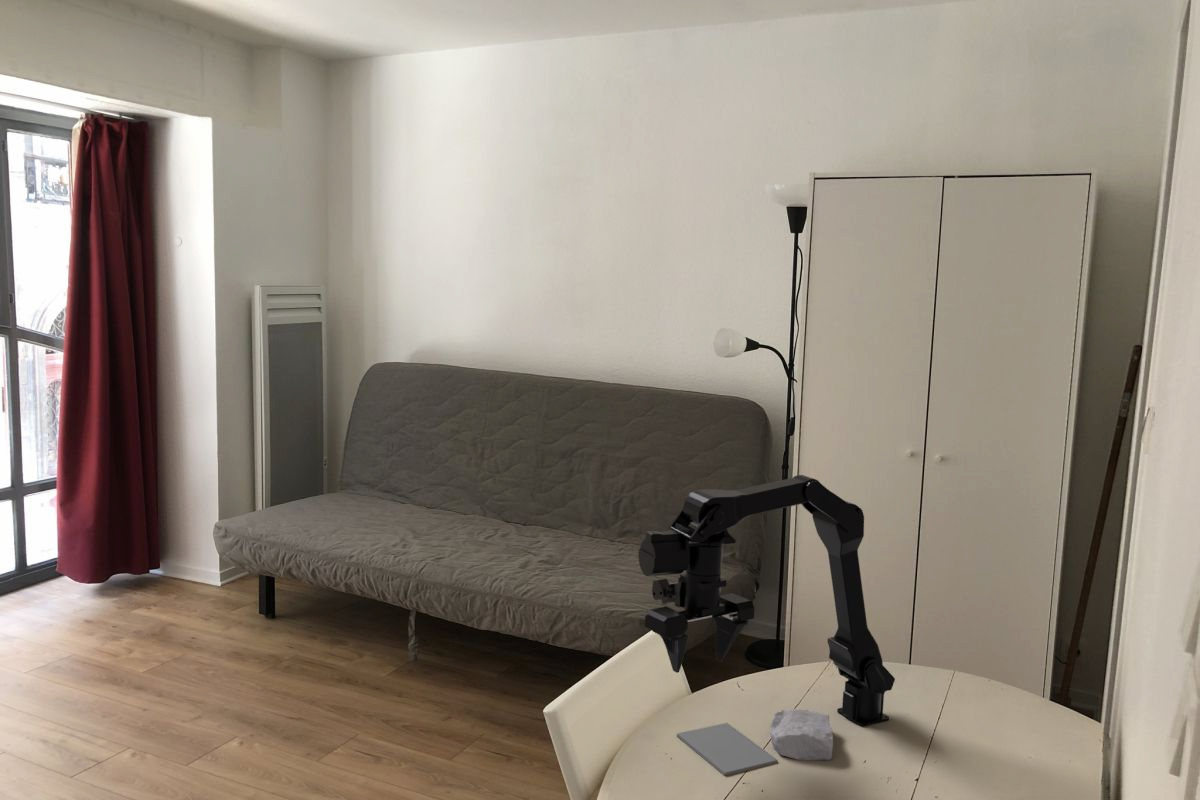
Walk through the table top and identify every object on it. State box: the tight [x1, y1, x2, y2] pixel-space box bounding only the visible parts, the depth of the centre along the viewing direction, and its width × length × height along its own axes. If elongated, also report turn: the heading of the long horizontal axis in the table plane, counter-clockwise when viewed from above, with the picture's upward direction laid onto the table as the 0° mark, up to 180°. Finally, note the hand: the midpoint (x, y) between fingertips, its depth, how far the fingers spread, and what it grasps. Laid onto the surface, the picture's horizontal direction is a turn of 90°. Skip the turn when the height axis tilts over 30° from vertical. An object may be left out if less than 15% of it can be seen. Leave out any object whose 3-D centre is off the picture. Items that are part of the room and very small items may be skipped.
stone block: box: [769, 708, 834, 762], centre depth 156 cm, size 12×5×10 cm
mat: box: [676, 722, 778, 777], centre depth 153 cm, size 10×14×1 cm
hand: (697, 666), depth 152 cm, fingers open, 9 cm apart
